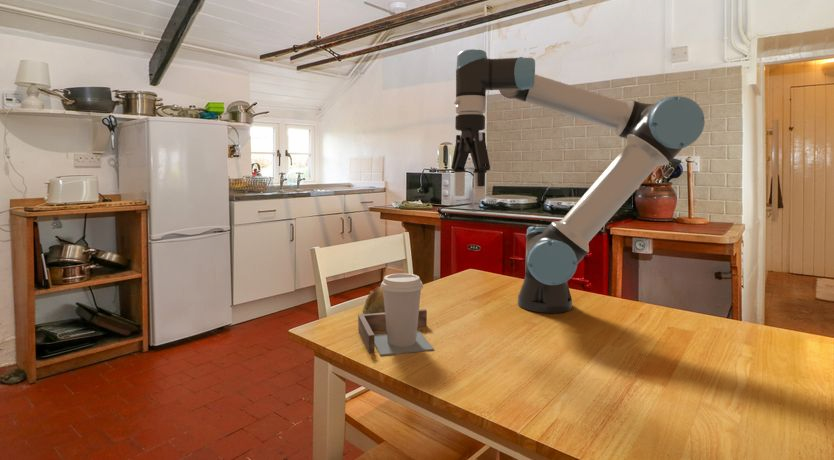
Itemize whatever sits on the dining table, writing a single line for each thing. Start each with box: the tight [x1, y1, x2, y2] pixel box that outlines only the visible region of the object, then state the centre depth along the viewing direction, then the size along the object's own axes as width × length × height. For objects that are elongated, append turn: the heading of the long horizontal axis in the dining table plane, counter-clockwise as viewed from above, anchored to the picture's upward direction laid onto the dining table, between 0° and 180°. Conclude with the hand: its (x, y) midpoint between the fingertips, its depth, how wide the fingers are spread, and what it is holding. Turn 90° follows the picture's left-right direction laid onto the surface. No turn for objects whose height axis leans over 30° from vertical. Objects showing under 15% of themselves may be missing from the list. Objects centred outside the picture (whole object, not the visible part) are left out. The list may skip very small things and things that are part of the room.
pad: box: [374, 329, 435, 357], centre depth 108 cm, size 12×12×1 cm
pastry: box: [362, 286, 385, 314], centre depth 128 cm, size 14×12×8 cm
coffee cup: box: [380, 272, 424, 347], centre depth 107 cm, size 10×10×15 cm
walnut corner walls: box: [357, 308, 428, 354], centre depth 111 cm, size 17×15×4 cm
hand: (468, 197), depth 124 cm, fingers open, 13 cm apart
